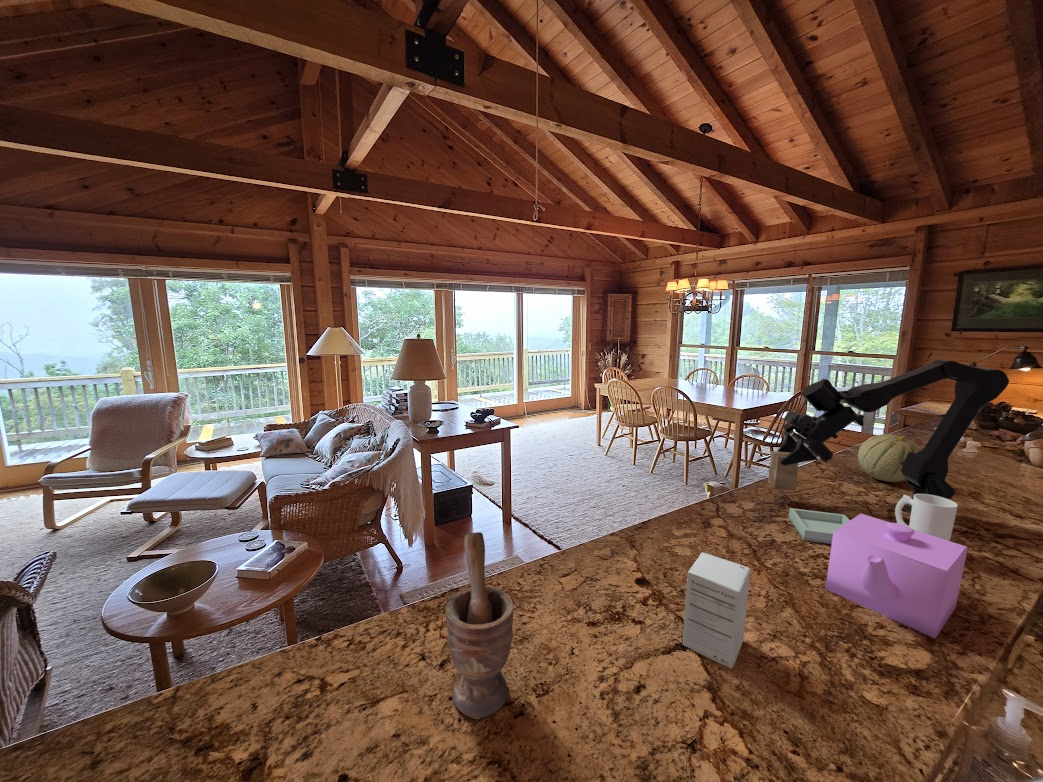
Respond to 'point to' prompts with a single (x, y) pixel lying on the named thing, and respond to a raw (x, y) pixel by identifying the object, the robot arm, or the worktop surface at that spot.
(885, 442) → the cantaloupe
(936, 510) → the mug
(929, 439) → the robot arm
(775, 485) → the walnut block
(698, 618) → the supplement box
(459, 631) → the mortar and pestle
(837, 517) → the tray
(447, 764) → the worktop surface
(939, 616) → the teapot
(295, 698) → the worktop surface
